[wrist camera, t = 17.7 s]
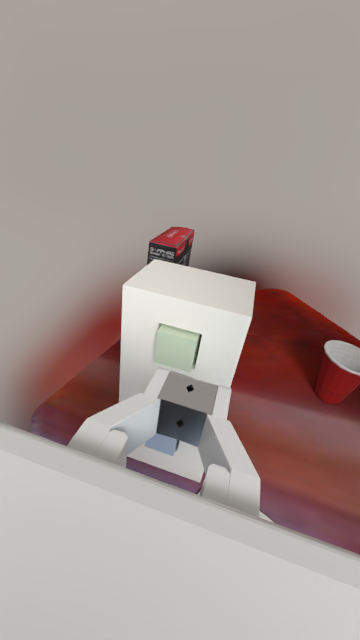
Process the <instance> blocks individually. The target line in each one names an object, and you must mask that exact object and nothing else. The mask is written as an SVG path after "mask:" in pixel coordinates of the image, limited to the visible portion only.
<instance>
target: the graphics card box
mask: <svg viewBox="0 0 360 640" xmlns="http://www.w3.org/2000/svg"><path fill="white" fill-rule="evenodd" d="M193 236H194V230H192V229H188V228H183V227H171V228H170V229H168V230H166V231H165V232H163V233H162V234H160V235H159V236H157V237H156V238H154V239H152V240H151V241H149V251H148V261H147V265H148V264H149V263H151V262H152V261H153V260H154V259H157V260H162V261H166V262H170V263H175V264H179V265H183V266H188V265H189V259H190V252H191V247H192V242H193Z"/></svg>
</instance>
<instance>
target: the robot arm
mask: <svg viewBox="0 0 360 640" xmlns="http://www.w3.org/2000/svg"><path fill="white" fill-rule="evenodd" d="M230 396H231V388H228V387H225V386H221V385H217V384H213V383H210V382H206V381H203V380H200V379H196V378H193V377H190V376H187V375H183V374H180V373H177V372H174V371H170V370H167V369H164V368H161V367H159V368H157V370H156V372H155V373H154V375H153V377H152V379H151V380H150V382H149V384H148V386H147V388H146V389H145V391H144V393H143V394H142V393H138V394H136V395H134V396H132V397H130V398H128V399H126V400H124V401H122V402H120V403H117V404H115V405H113V406H111V407H109V408H107V409H105V410H103V411H101V412H99V413H97V414H95V415H93V416H91V417H89V418H87V419H86V420H85V422H84V423H83V424H82V426H81V427H80V428H79V430H78V431H77V433H76V434H75V435H74V437H73V438H72V439H71V441H70V442H69V443H68V445H67V446H65V445H62V444H59V443H57V442H54V441H51V440H49V439H46V438H43V437H40V436H38V435H35V434H32V433H30V432H27V431H24V430H22V429H19V428H16V427H13V426H11V425H8V424H5V423H3V422H0V640H360V555H359V554H356V553H354V552H351V551H348V550H346V549H343V548H340V547H337V546H335V545H332V544H329V543H327V542H324V541H321V540H319V539H316V538H313V537H310V536H308V535H305V534H302V533H300V532H297V531H294V530H292V529H289V528H286V527H284V526H281V525H278V524H275V523H273V522H270V521H267V520H265V519H262V518H259V512H260V477H259V476H258V474H257V472H256V470H255V468H254V466H253V464H252V462H251V460H250V458H249V456H248V454H247V453H246V451H245V449H244V447H243V445H242V443H241V441H240V439H239V437H238V435H237V433H236V432H235V430H234V428H233V426H232V424H231V422H230V421H227V414H228V408H229V402H230ZM156 433H158V434H161V435H164V436H167V437H171V438H174V439H177V440H180V441H182V442H185V443H188V444H191V445H193V446H196V447H198V450H199V454H200V457H201V461H202V464H203V467H204V471H205V474H206V476H205V479H204V482H203V485H202V488H201V491H200V494H199V495H197V494H194V493H191V492H189V491H186V490H183V489H181V488H178V487H175V486H173V485H170V484H167V483H164V482H162V481H159V480H156V479H154V478H151V477H148V476H146V475H143V474H140V473H138V472H135V471H132V470H129V469H127V468H126V459H127V456H128V455H129V454H130V453H131V452H133V451H134V450H135V449H137V448H138V447H139V446H141V445H142V444H143V443H145V442H146V441H147V440H149V439H150V438H151V437H153V436H154V435H155V434H156Z"/></svg>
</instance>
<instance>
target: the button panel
mask: <svg viewBox="0 0 360 640" xmlns="http://www.w3.org/2000/svg"><path fill="white" fill-rule="evenodd" d="M255 286H256V282H253V281H249V280H244V279H240V278H236V277H231V276H227V275H223V274H218V273H213V272H209V271H205V270H201V269H196V268H192V267H188V266H183V265H179V264H175V263H170V262H166V261H162V260H157V259H154V260H153V261H152V262H151V263H149V264H148V265H147V266H146V267H144V268H143V269H142V270H141V271H139V272H138V273H137V274H136V275H135V276H133V277H132V278H131V279H129V280H128V281H127V282H126V283H124V284H123V295H122V327H121V356H120V386H119V403H120V402H122V401H124V400H126V399H128V398H130V397H132V396H134V395H136V394H138V393H142V394H143V393H144V391H145V389H146V388H147V386H148V384H149V382H150V380H151V379H152V377H153V375H154V373H155V372H156V370H157V368H159V367H161V368H164V369H167V370H170V371H174V372H177V373H180V374H183V375H187V376H190V377H193V378H196V379H200V380H203V381H206V382H210V383H213V384H217V385H221V386H225V387H228V388H230V386H231V383H232V379H233V376H234V373H235V370H236V367H237V364H238V360H239V357H240V354H241V351H242V348H243V344H244V341H245V338H246V335H247V332H248V328H249V325H250V322H251V319H252V313H253V304H254V295H255ZM162 324H165V325H169V326H173V327H177V328H180V329H184V330H188V331H191V332H195V333H199V334H202V338H201V342H200V347H199V351H198V354H197V357H196V359H195V362H194V364H193V367H192V370H191V372H187V371H183V370H180V369H176V368H173V367H170V366H166V365H163V364H160V363H156V362H154V359H155V351H156V342H157V333H158V330H159V328H160V327H161V325H162ZM128 457H130V458H133V459H136V460H139V461H141V462H144V463H147V464H150V465H152V466H155V467H158V468H161V469H164V470H166V471H169V472H172V473H175V474H177V475H180V476H183V477H186V478H188V479H191V480H194V481H197V482H199V483H200V481H201V478H202V475H203V472H204V467H203V464H202V461H201V457H200V454H199V450H198V447H196V446H193V445H191V444H188V443H185V442H182V441H180V440H178V443H177V446H176V449H175V452H174V455H173V456H171V455H168V454H165V453H162V452H159V451H156V450H154V449H151V448H148V447H145V443H143V444H142V445H141V446H139V447H138V448H137V449H135V450H134V451H133V452H131V453H130V454H129V455H128Z"/></svg>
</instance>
